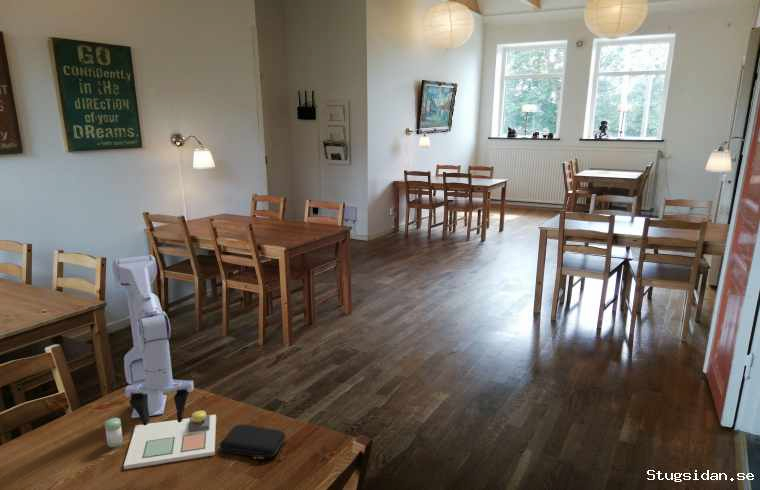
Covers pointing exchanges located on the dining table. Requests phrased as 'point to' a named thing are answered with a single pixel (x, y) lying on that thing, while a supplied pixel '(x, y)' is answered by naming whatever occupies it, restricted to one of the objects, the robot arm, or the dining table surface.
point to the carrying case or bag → (253, 441)
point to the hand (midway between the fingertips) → (163, 421)
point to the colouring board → (171, 442)
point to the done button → (198, 416)
